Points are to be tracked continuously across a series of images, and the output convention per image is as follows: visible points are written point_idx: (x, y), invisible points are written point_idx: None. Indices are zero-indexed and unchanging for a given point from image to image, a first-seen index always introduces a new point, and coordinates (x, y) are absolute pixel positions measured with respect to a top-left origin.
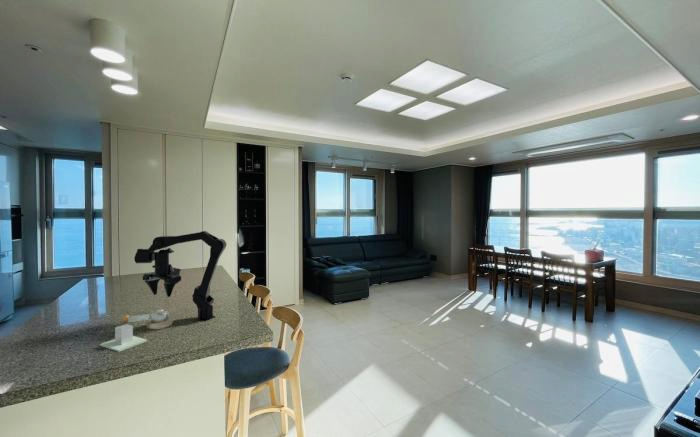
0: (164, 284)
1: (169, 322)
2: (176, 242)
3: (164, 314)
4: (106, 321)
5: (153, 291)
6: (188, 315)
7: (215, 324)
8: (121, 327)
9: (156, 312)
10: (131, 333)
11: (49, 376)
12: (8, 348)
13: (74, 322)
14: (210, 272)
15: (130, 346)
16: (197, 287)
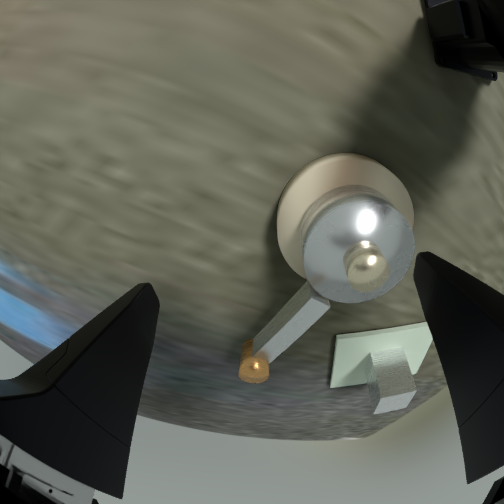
0: (477, 465)
1: (410, 209)
2: None
3: (411, 256)
4: (83, 301)
5: (148, 348)
6: (322, 19)
7: None
8: (393, 406)
9: (322, 262)
10: (408, 370)
11: (375, 422)
12: (166, 421)
13: (51, 334)
14: None
15: (424, 355)
16: None
